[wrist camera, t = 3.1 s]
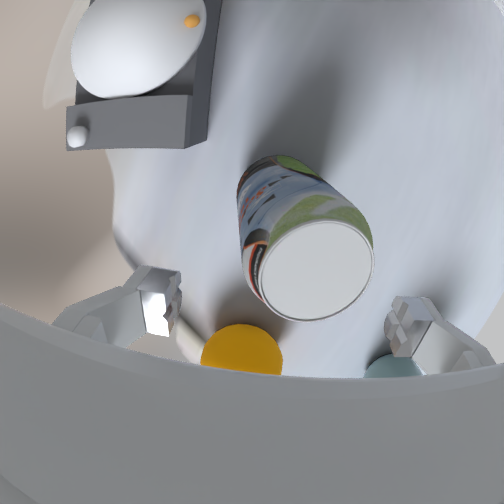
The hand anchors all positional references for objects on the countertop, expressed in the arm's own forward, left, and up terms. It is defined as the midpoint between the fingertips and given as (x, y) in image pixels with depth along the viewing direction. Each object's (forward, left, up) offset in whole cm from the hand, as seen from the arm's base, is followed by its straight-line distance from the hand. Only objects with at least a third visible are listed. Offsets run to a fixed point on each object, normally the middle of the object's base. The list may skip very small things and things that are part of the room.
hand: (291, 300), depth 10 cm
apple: (+16, -2, -13) cm, 20 cm away
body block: (-10, -11, -13) cm, 20 cm away
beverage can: (0, 0, -13) cm, 13 cm away
